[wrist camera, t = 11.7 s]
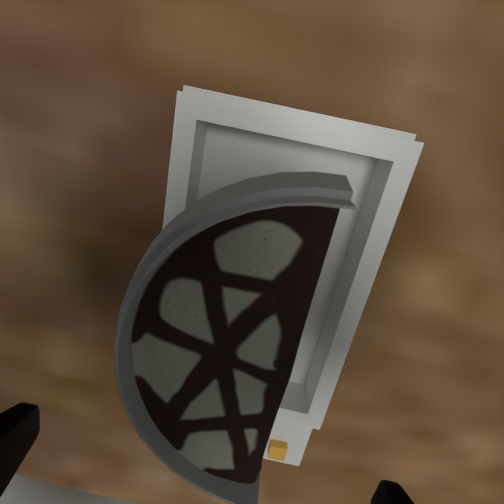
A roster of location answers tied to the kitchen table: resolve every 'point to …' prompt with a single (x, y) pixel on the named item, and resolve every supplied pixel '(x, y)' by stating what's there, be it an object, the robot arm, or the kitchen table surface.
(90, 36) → the kitchen table surface
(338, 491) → the kitchen table surface
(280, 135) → the dock
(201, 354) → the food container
